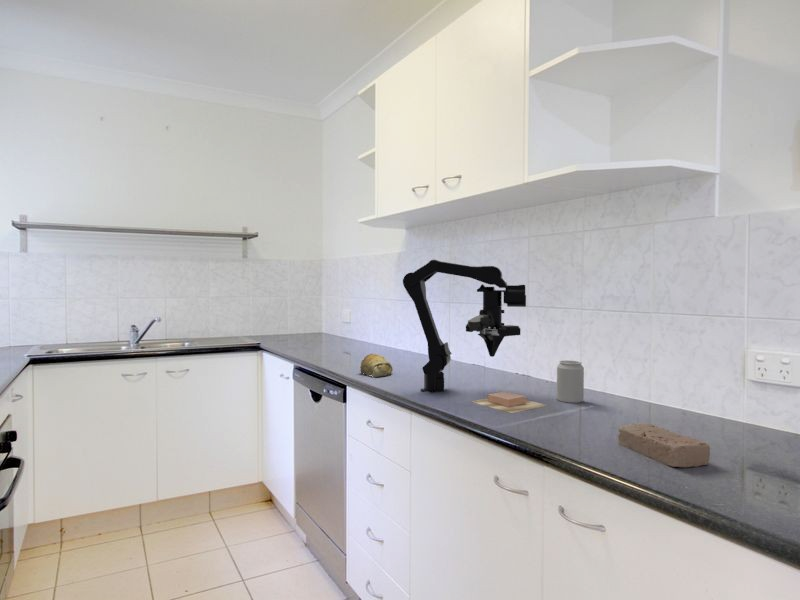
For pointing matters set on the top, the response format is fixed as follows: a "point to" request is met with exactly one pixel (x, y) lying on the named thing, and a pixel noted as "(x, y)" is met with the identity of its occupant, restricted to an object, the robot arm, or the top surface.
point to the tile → (507, 399)
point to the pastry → (375, 366)
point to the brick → (664, 445)
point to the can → (570, 381)
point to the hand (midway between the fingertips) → (491, 356)
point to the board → (511, 409)
